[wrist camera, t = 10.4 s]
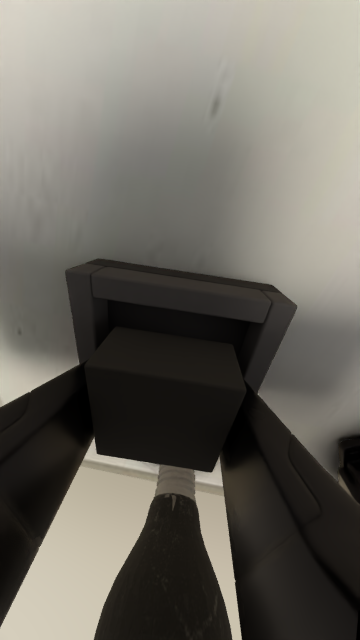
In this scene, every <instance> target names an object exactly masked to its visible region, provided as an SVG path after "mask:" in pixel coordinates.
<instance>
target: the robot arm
mask: <svg viewBox="0 0 360 640" xmlns="http://www.w3.org/2000/svg"><path fill="white" fill-rule="evenodd" d="M88 360H89V359H88ZM88 360H87V361H88ZM87 361H85V362H83V363H81V364H79V365H77V366H76V367H74V368H72V369H70V370H68V371H66V372H65V373H63V374H61V375H59V376H57V377H56V378H54V379H52V380H50V381H48V382H46V383H45V384H43V385H41V386H39V387H37V388H35V389H34V390H32V391H31V393H30V392H28V393H26V394H24V395H23V396H21V397H19V398H17V399H15V400H13V401H11V402H10V403H8V404H6V405H4V406H2V407H0V627H1V625H2V623H3V621H4V619H5V617H6V615H7V613H8V611H9V609H10V607H11V605H12V603H13V601H14V599H15V597H16V595H17V592H18V591H19V588H20V586H21V584H22V582H23V580H24V578H25V576H26V574H27V572H28V570H29V568H30V566H31V564H32V562H33V560H34V558H35V556H36V554H37V552H38V550H39V547H40V546H41V544H42V542H43V539H44V538H45V536H46V534H47V531H48V529H49V527H50V525H51V523H52V521H53V519H54V517H55V515H56V513H57V511H58V509H59V507H60V505H61V503H62V501H63V499H64V497H65V495H66V493H67V491H68V489H69V487H70V485H71V483H72V481H73V479H74V477H75V475H76V473H77V471H78V468H79V467H80V465H81V463H82V461H83V459H84V457H85V455H86V453H87V451H88V449H89V446H90V444H91V442H92V440H93V438H94V430H93V423H92V416H91V410H90V403H89V396H88V389H87V382H86V375H85V368H84V366H85V364H86V362H87ZM243 380H244V379H243ZM244 383H245V387H246V394H245V396H244V399H243V401H242V403H241V406H240V408H239V410H238V413H237V415H236V418H235V420H234V422H233V425H232V427H231V429H230V432H229V434H228V436H227V439H226V441H225V443H224V446H223V448H222V450H221V453H220V455H219V456H220V464H221V472H222V480H223V488H224V496H225V504H226V513H227V520H228V529H229V537H230V544H231V553H232V561H233V569H234V578H235V580H236V582H235V586H236V595H237V603H238V611H239V619H240V627H241V636H242V640H360V438H356V439H348V440H344V441H342V442H340V443H339V459H340V467H339V469H338V482H339V483H338V482H337V481H336V480H335V479H334V478H333V477H332V476H331V475H330V474H329V473H328V472H327V471H326V470H325V469H324V468H323V467H322V466H321V465H320V464H319V463H318V461H317V460H316V459H315V458H314V457H313V456H312V455H311V454H310V453H309V452H308V451H307V449H306V448H305V447H304V446H303V445H302V444H301V443H300V442H299V441H298V439H297V438H296V437H295V436H294V435H293V434H291V432H290V430H289V429H288V428H287V427H286V426H285V425H284V424H283V423H282V421H281V420H280V419H279V418H278V417H277V416H276V415H275V414H274V412H273V411H272V410H271V409H270V408H269V407H268V406H267V405H266V403H265V402H264V401H263V400H262V399H261V398H260V397H259V395H258V394H257V393H256V392H255V391H254V390H253V389H252V388H251V386H250V385H249V384H248V383H247V382H246V381H245V380H244Z"/></svg>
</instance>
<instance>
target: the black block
mask: <svg viewBox="0 0 360 640" xmlns="http://www.w3.org/2000/svg"><path fill="white" fill-rule="evenodd" d="M84 368H85V375H86V382H87V389H88V396H89V403H90V410H91V416H92V423H93V430H94V437H95V444H96V451H97V454H100V455H106V456H112V457H118V458H124V459H130V460H137V461H143V462H149V463H155V464H161V465H167V466H174V467H180V468H186V469H192V470H198V471H205V472H213V469H214V467H215V464H216V462H217V460H218V457H219V455H220V453H221V450H222V448H223V446H224V443H225V441H226V439H227V436H228V434H229V432H230V429H231V427H232V425H233V422H234V420H235V418H236V415H237V413H238V410H239V408H240V406H241V403H242V401H243V399H244V396H245V394H246V387H245V383H244V380H243V377H242V374H241V370H240V367H239V364H238V360H237V357H236V354H235V351H234V347H233V345H232V344H228V343H222V342H215V341H209V340H202V339H196V338H189V337H183V336H176V335H170V334H163V333H157V332H150V331H144V330H137V329H131V328H125V327H118V326H116V327H115V328H114V329H113V330H112V331H111V332H110V334H109V335H108V336H107V337H106V339H105V340H104V341H103V342H102V344H101V345H100V346H99V347H98V349H97V350H96V351H95V352H94V354H93V355H92V356H91V357H90V359H89V360H88V361H87V362H86V364H85V366H84Z"/></svg>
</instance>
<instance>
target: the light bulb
mask: <svg viewBox="0 0 360 640" xmlns="http://www.w3.org/2000/svg"><path fill="white" fill-rule="evenodd" d="M194 495H195V474H194V470H192V469H186V468H180V467H174V466H167V465H161V466H160V468H159V475H158V481H157V489H156V492H155V497H154V499H153V501H152V503H151V505H150V509H149V512H148V516H147V519H146V523H145V525H144V528H143V530H142V532H141V534H140V536H139V538H138V540H137V542H136V543H135V545H134V547H133V549H132V551H131V552H130V554H129V556H128V558H127V559H126V561H125V563H124V565H123V566H122V568H121V570H120V572H119V573H118V575H117V577H116V579H115V581H114V583H113V586H112V588H111V590H110V592H109V595H108V597H107V599H106V602H105V604H104V606H103V609H102V613H101V616H100V619H99V623H98V626H97V629H96V633H95V637H94V640H232V634H231V628H230V623H229V619H228V615H227V611H226V607H225V602H224V599H223V596H222V593H221V590H220V587H219V584H218V581H217V578H216V575H215V572H214V570H213V567H212V564H211V562H210V559H209V556H208V554H207V551H206V548H205V545H204V541H203V538H202V534H201V530H200V521H199V513H198V508H197V505H196V500H195V496H194Z"/></svg>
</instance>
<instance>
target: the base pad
mask: <svg viewBox="0 0 360 640" xmlns="http://www.w3.org/2000/svg"><path fill="white" fill-rule="evenodd" d="M65 274H66V281H67V287H68V293H69V300H70V306H71V312H72V319H73V325H74V332H75V338H76V344H77V351H78V357H79V363H80V364H81V363H83V362H85V361H87V360H88V359H90V357H91V356H92V355H93V354H94V352H95V351H96V350H97V349H98V347H99V346H100V345H101V344H102V342H103V341H104V340H105V339H106V337H107V336H108V335H109V334H110V332H111V331H112V330H113V329H114V328H115V327H116V326H118V327H125V328H131V329H137V330H144V331H150V332H157V333H163V334H170V335H176V336H183V337H189V338H196V339H202V340H209V341H215V342H222V343H228V344H232V345H233V347H234V351H235V354H236V357H237V360H238V364H239V367H240V370H241V374H242V377H243V379H244V380H245V381H246V382H247V383H248V384H249V385H250V386H251V388H252V389H253V390H254V391H255V392H256V393H257V392H258V390H259V388H260V386H261V384H262V382H263V380H264V377H265V375H266V373H267V371H268V369H269V367H270V365H271V363H272V360H273V358H274V356H275V354H276V352H277V350H278V348H279V345H280V343H281V341H282V339H283V337H284V335H285V333H286V331H287V328H288V326H289V324H290V322H291V320H292V318H293V316H294V314H295V311H296V309H297V305H296V304H295V303H293V302H292V301H291V300H290V299H288V298H287V297H286V296H285V295H283V294H282V293H281V292H280V291H279V290H278V289H276V288H275V287H274V286H273V285H269V284H262V283H256V282H249V281H242V280H236V279H229V278H223V277H216V276H210V275H203V274H197V273H190V272H183V271H177V270H170V269H164V268H157V267H151V266H144V265H138V264H131V263H124V262H118V261H111V260H105V259H96V260H93V261H90V262H87V263H85V264H82V265H79V266H76V267H73V268H70V269H67V270H66V271H65Z"/></svg>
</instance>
